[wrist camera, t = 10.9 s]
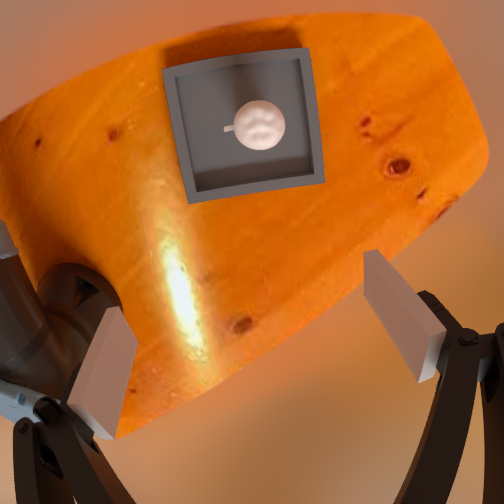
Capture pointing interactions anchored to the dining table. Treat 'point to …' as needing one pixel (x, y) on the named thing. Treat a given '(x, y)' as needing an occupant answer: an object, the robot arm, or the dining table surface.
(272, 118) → the milkshake
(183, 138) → the slate tray
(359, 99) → the dining table surface
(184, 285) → the dining table surface
